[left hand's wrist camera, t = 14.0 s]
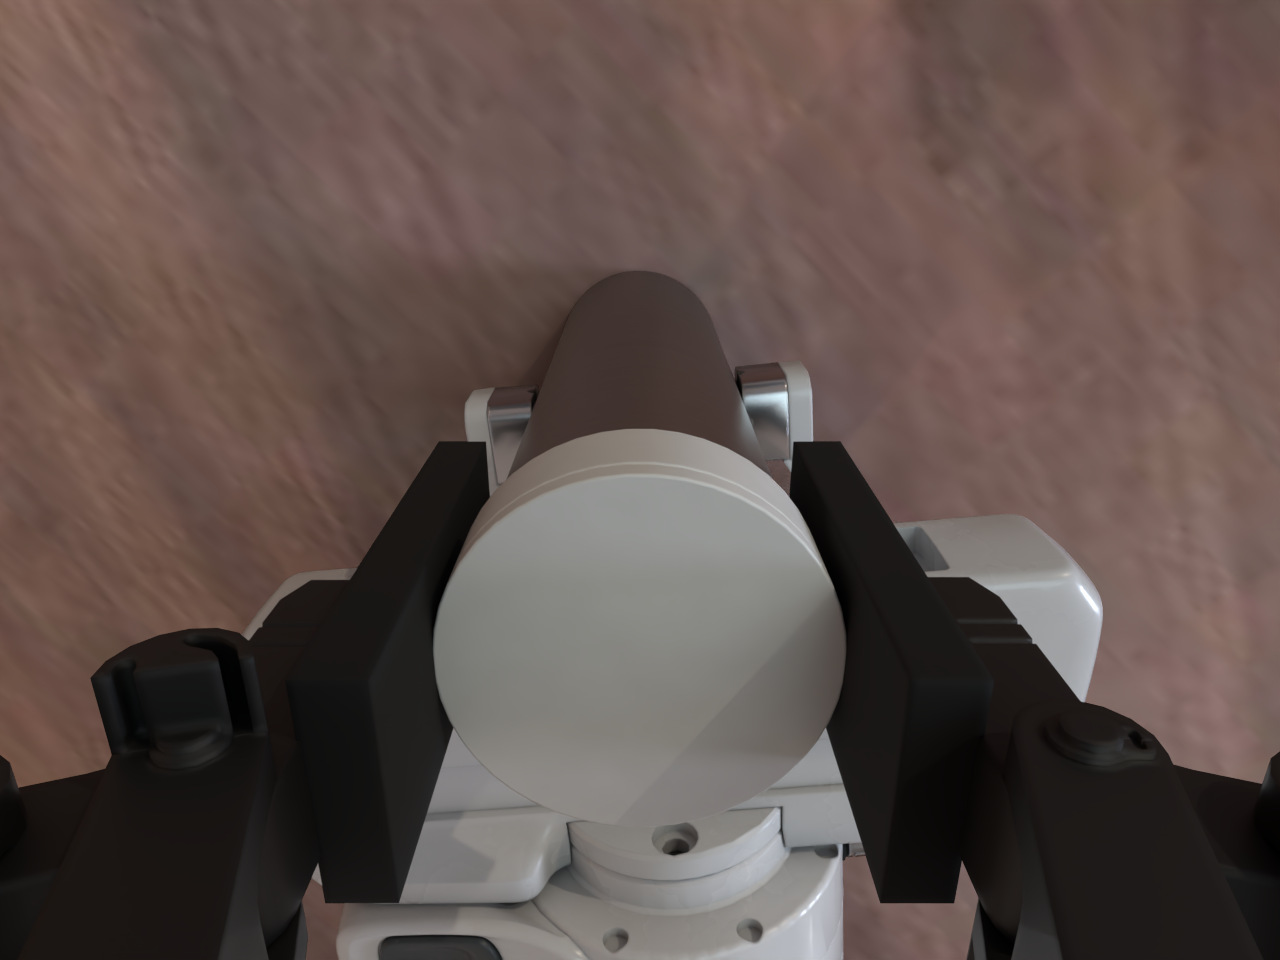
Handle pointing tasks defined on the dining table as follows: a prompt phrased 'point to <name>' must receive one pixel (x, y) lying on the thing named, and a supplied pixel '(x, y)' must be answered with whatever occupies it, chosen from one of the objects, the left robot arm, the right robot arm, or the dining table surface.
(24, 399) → the dining table surface
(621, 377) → the jar
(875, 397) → the dining table surface
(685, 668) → the lid
